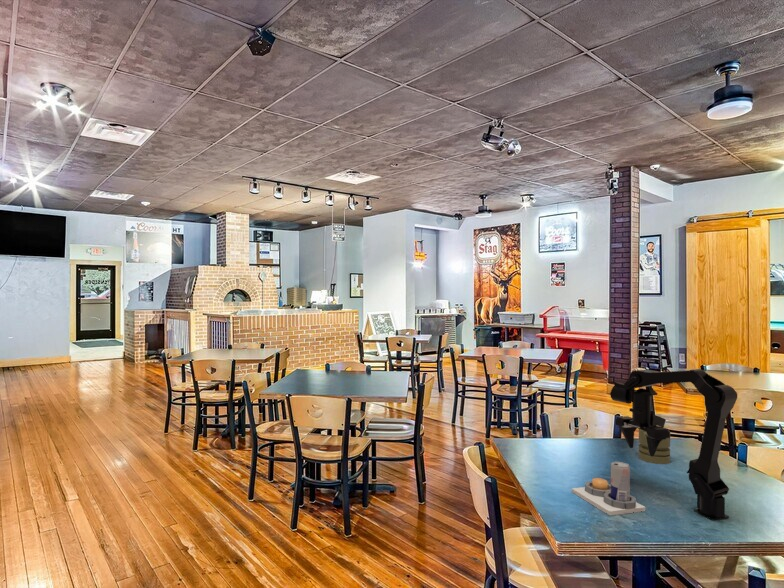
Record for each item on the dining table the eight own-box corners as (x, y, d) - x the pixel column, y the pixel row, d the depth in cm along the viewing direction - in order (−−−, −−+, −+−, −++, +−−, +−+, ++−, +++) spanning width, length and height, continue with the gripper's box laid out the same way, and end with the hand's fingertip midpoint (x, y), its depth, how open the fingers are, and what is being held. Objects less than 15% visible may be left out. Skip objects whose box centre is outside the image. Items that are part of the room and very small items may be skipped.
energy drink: (613, 497, 152) (613, 460, 152) (631, 502, 148) (631, 463, 148) (608, 503, 147) (608, 464, 148) (627, 508, 144) (627, 468, 144)
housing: (645, 511, 145) (645, 495, 145) (609, 515, 141) (609, 499, 142) (604, 488, 162) (604, 474, 162) (571, 492, 159) (571, 477, 159)
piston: (665, 435, 186) (634, 429, 194) (665, 466, 186) (634, 459, 193) (673, 430, 194) (643, 425, 202) (673, 459, 194) (643, 453, 202)
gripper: (683, 411, 156) (683, 459, 156) (640, 400, 174) (639, 442, 174) (656, 413, 153) (655, 461, 153) (614, 401, 171) (614, 444, 171)
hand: (641, 451), depth 163 cm, fingers open, 9 cm apart
